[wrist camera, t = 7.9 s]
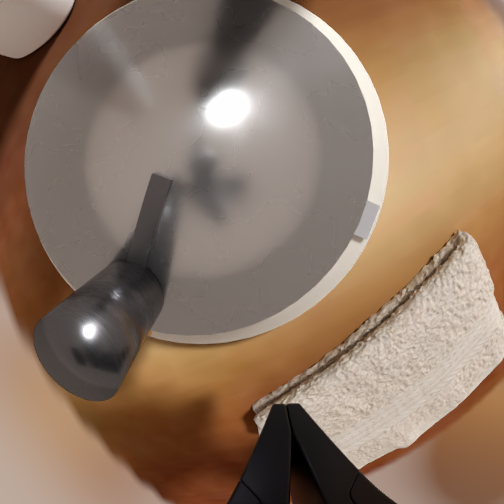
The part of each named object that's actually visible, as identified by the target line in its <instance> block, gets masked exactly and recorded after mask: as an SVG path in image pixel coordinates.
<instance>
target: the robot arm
mask: <svg viewBox="0 0 504 504" xmlns="http://www.w3.org/2000/svg"><path fill="white" fill-rule="evenodd" d="M290 493H291V498H292V503H293V504H397V503H395V502H394V501H393V500H391V499H390V498H389V497H387V496H386V495H385V494H384V493H382V492H381V491H380V490H378V488H376V487H375V486H374V485H373V484H372V483H371V482H370V481H369V480H368V479H367V478H366V477H365V476H364V475H363V474H362V473H361V472H359V470H358V468H357V467H356V466H355V465H354V464H353V463H352V462H351V461H350V460H349V459H348V458H347V457H346V456H345V455H344V453H343V452H342V451H341V450H340V449H339V448H338V447H337V446H336V445H335V444H334V442H333V441H332V440H331V439H330V438H329V437H328V436H327V435H326V434H325V432H324V431H323V430H322V429H321V428H320V427H319V426H318V424H317V423H316V422H315V421H314V420H313V419H312V418H311V416H310V415H309V414H308V413H307V412H306V411H305V409H304V408H303V407H302V406H301V405H300V404H299V403H288V404H286V405H285V404H273V405H272V407H271V409H270V412H269V414H268V417H267V419H266V421H265V424H264V426H263V429H262V431H261V433H260V436H259V438H258V440H257V442H256V445H255V447H254V449H253V452H252V454H251V456H250V458H249V460H248V463H247V465H246V467H245V469H244V471H243V473H242V476H241V478H240V481H239V482H238V484H237V486H236V488H235V490H234V492H233V494H232V495H231V497H230V499H229V501H228V503H227V504H290Z"/></svg>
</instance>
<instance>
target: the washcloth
mask: <svg viewBox="0 0 504 504" xmlns="http://www.w3.org/2000/svg"><path fill="white" fill-rule="evenodd" d="M493 292H494V285H493V283H492V279H491V278H490V274H489V270H488V269H487V266H486V264H485V260H484V259H483V256H482V254H481V252H480V250H479V247H478V245H477V242H476V241H475V240H474V238H473V237H472V236H471V235H470V234H468V233H467V232H461V231H460V230H457V234H455V235H454V236H452V237H451V238H450V239H449V241H448V242H447V244H446V246H444V247H443V248H442V249H441V250H439V252H438V253H437V254H435V255H434V258H433V259H432V260H431V261H430V262H429V263H428V265H425V266H423V268H422V269H421V270H420V271H419V273H418V274H417V275H416V276H415V277H414V279H412V280H411V281H410V282H409V283H408V285H407V286H406V287H405V288H404V289H402V290H400V291H399V293H398V294H397V295H395V296H394V297H393V298H392V299H391V300H390V301H389V302H386V303H385V304H384V305H383V306H382V307H381V310H380V311H378V312H377V313H375V314H374V315H372V316H370V317H369V319H368V320H366V321H365V323H364V324H363V325H361V326H360V327H359V328H358V330H357V331H356V332H354V333H352V334H351V335H350V336H349V337H348V338H347V339H346V340H345V341H344V343H343V344H341V345H339V346H337V347H336V348H335V349H333V350H332V351H330V352H329V353H327V354H326V355H325V356H324V358H323V359H322V360H320V361H319V362H317V363H316V364H315V365H314V366H312V367H311V368H308V369H306V370H304V371H303V373H301V374H300V375H298V376H296V377H294V378H293V379H291V380H290V381H289V382H288V383H286V384H284V385H283V386H280V387H279V388H278V389H277V390H275V391H272V392H270V393H269V394H268V395H267V396H265V397H263V398H261V399H259V400H258V401H257V402H256V403H254V404H253V405H252V408H253V411H254V412H255V413H256V416H255V417H254V421H255V423H256V424H257V426H258V432H259V436H260V433H261V431H262V429H263V426H264V424H265V421H266V419H267V417H268V414H269V412H270V409H271V407H272V405H273V404H285V405H286V404H288V403H299V404H300V405H301V406H302V407H303V408H304V409H305V411H306V412H307V413H308V414H309V415H310V416H311V418H312V419H313V420H314V421H315V422H316V423H317V424H318V426H319V427H320V428H321V429H322V430H323V431H324V432H325V434H326V435H327V436H328V437H329V438H330V439H331V440H332V441H333V442H334V444H335V445H336V446H337V447H338V448H339V449H340V450H341V451H342V452H343V453H344V455H345V456H346V457H347V458H348V459H349V460H350V461H351V462H352V463H353V464H354V465H355V466H356V467H357V468H358V469H360V468H362V467H363V466H364V465H366V464H367V463H369V462H372V461H373V460H375V459H377V458H379V457H381V456H383V455H385V454H386V453H389V452H391V451H393V450H395V449H397V448H406V447H408V446H410V445H411V444H412V443H413V442H414V441H415V440H416V439H417V438H418V437H419V436H420V435H421V434H423V433H424V432H425V431H426V430H428V429H429V428H430V427H431V426H432V425H434V424H435V423H436V422H437V421H439V420H440V419H441V418H443V417H444V416H445V415H447V414H448V413H449V412H450V411H452V410H453V409H454V408H456V407H457V405H458V404H459V403H461V402H462V401H463V400H464V399H465V398H466V397H467V396H468V395H469V394H470V393H471V392H472V391H473V390H474V389H475V388H476V387H477V386H478V385H479V384H480V383H481V382H482V380H483V379H484V378H485V377H486V376H487V375H488V374H490V372H491V371H492V370H493V369H494V368H495V367H496V366H497V365H498V364H499V363H500V362H501V360H502V359H503V357H504V316H503V314H502V312H501V311H500V310H499V308H498V304H497V302H496V300H495V297H494V295H493Z"/></svg>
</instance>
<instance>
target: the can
mask: <svg viewBox="0 0 504 504" xmlns="http://www.w3.org/2000/svg"><path fill="white" fill-rule="evenodd" d="M74 1H75V0H0V54H1V55H4V56H7V57H11V58H22V57H24V56H27V55H28V54H30V53H32V52H34V51H35V50H37V49H38V48H40V47H41V46H42V45H44V44H45V43H46V42H47V41H48V40H49V39H51V38H52V36H53V35H54V34H55V33H56V32H57V31H58V30H59V28H60V27H61V26H62V25H63V23H64V22H65V20H66V19H67V17H68V15H69V14H70V12H71V9H72V7H73V4H74Z"/></svg>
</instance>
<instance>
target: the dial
mask: <svg viewBox="0 0 504 504" xmlns="http://www.w3.org/2000/svg"><path fill="white" fill-rule="evenodd" d="M373 151H374V150H373V138H372V128H371V122H370V118H369V114H368V110H367V106H366V102H365V99H364V97H363V94H362V92H361V89H360V87H359V84H358V82H357V80H356V78H355V76H354V74H353V72H352V71H351V69H350V67H349V66H348V64H347V62H346V61H345V59H344V57H343V56H342V55H341V54H340V52H339V51H338V50H337V49H336V47H335V46H334V45H333V44H332V43H331V41H330V40H329V39H328V38H327V37H326V36H325V35H324V34H323V33H322V32H320V31H319V30H318V29H317V28H316V27H315V26H314V25H313V24H312V23H310V22H309V21H307V20H306V19H305V18H303V17H302V16H300V15H299V14H297V13H296V12H294V11H293V10H291V9H289V8H287V7H285V6H283V5H281V4H279V3H277V2H275V1H273V0H138V1H135V2H133V3H131V4H129V5H127V6H125V7H123V8H121V9H119V10H117V11H116V12H114V13H112V14H111V15H109V16H108V17H106V18H105V19H103V20H102V21H100V22H99V23H97V24H96V25H95V26H94V27H92V28H91V29H90V30H89V31H88V32H87V33H85V34H84V35H83V36H82V37H81V38H80V39H79V40H78V41H77V42H76V43H75V44H74V45H73V46H72V47H71V48H70V50H69V51H68V52H67V53H66V54H65V55H64V57H63V58H62V59H61V61H60V62H59V63H58V65H57V66H56V68H55V69H54V71H53V72H52V74H51V75H50V77H49V79H48V81H47V83H46V84H45V86H44V88H43V90H42V92H41V94H40V97H39V99H38V102H37V104H36V107H35V110H34V112H33V115H32V119H31V123H30V127H29V131H28V136H27V143H26V150H25V185H26V193H27V199H28V204H29V208H30V212H31V216H32V219H33V222H34V225H35V228H36V230H37V233H38V236H39V238H40V240H41V242H42V244H43V246H44V248H45V250H46V252H47V253H48V255H49V257H50V258H51V260H52V261H53V263H54V264H55V266H56V267H57V268H58V270H59V271H60V273H61V274H62V275H63V276H64V277H65V278H66V279H67V281H68V282H69V283H70V284H71V285H72V286H73V287H74V288H75V289H76V291H75V292H73V293H72V294H71V295H70V296H68V297H67V298H66V299H65V300H64V301H62V302H61V303H60V304H59V305H57V306H56V307H55V308H54V309H53V310H51V311H50V312H49V313H48V314H47V315H45V316H44V317H43V318H42V319H41V320H40V321H39V322H38V323H37V325H36V327H35V330H34V346H35V350H36V353H37V356H38V358H39V360H40V362H41V364H42V365H43V367H44V368H45V370H46V371H47V372H48V374H49V375H50V376H51V377H52V378H53V379H54V380H55V381H56V382H57V383H58V384H59V385H60V386H61V387H63V388H64V389H65V390H67V391H68V392H70V393H72V394H73V395H75V396H77V397H80V398H83V399H86V400H90V401H104V400H108V399H110V398H111V397H113V396H114V395H115V394H116V392H117V390H118V388H119V386H120V385H121V383H122V381H123V379H124V377H125V375H126V373H127V372H128V370H129V368H130V366H131V364H132V362H133V361H134V359H135V357H136V355H137V353H138V351H139V350H140V348H141V346H142V344H143V342H144V341H145V339H146V337H147V335H148V334H149V332H150V330H151V331H156V332H160V333H165V334H175V335H187V336H191V335H211V334H217V333H223V332H229V331H234V330H237V329H240V328H244V327H247V326H250V325H253V324H256V323H258V322H260V321H263V320H265V319H267V318H269V317H271V316H273V315H275V314H277V313H279V312H281V311H282V310H284V309H285V308H287V307H289V306H290V305H292V304H293V303H295V302H296V301H298V300H299V299H300V298H302V297H303V296H304V295H305V294H306V293H308V292H309V291H310V290H311V289H312V288H314V287H315V286H316V285H317V284H318V283H319V282H320V281H321V280H322V279H323V277H324V276H325V275H326V274H327V273H328V272H329V271H330V270H331V269H332V268H333V266H334V265H335V264H336V262H337V261H338V259H339V258H340V256H341V255H342V254H343V252H344V251H345V249H346V248H347V246H348V244H349V242H350V241H351V239H352V237H353V235H354V233H355V231H356V229H357V227H358V225H359V222H360V220H361V217H362V214H363V211H364V208H365V205H366V202H367V199H368V194H369V189H370V184H371V179H372V170H373Z"/></svg>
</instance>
